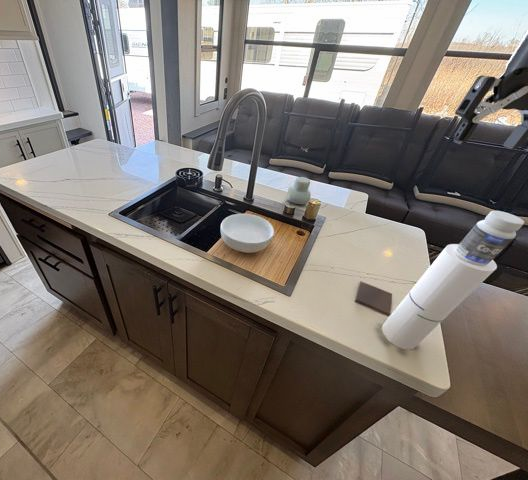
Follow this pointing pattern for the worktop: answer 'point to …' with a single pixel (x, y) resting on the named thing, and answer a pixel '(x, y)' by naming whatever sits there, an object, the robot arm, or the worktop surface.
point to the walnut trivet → (374, 298)
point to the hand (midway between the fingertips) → (483, 145)
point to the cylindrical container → (434, 297)
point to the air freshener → (299, 191)
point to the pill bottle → (489, 237)
